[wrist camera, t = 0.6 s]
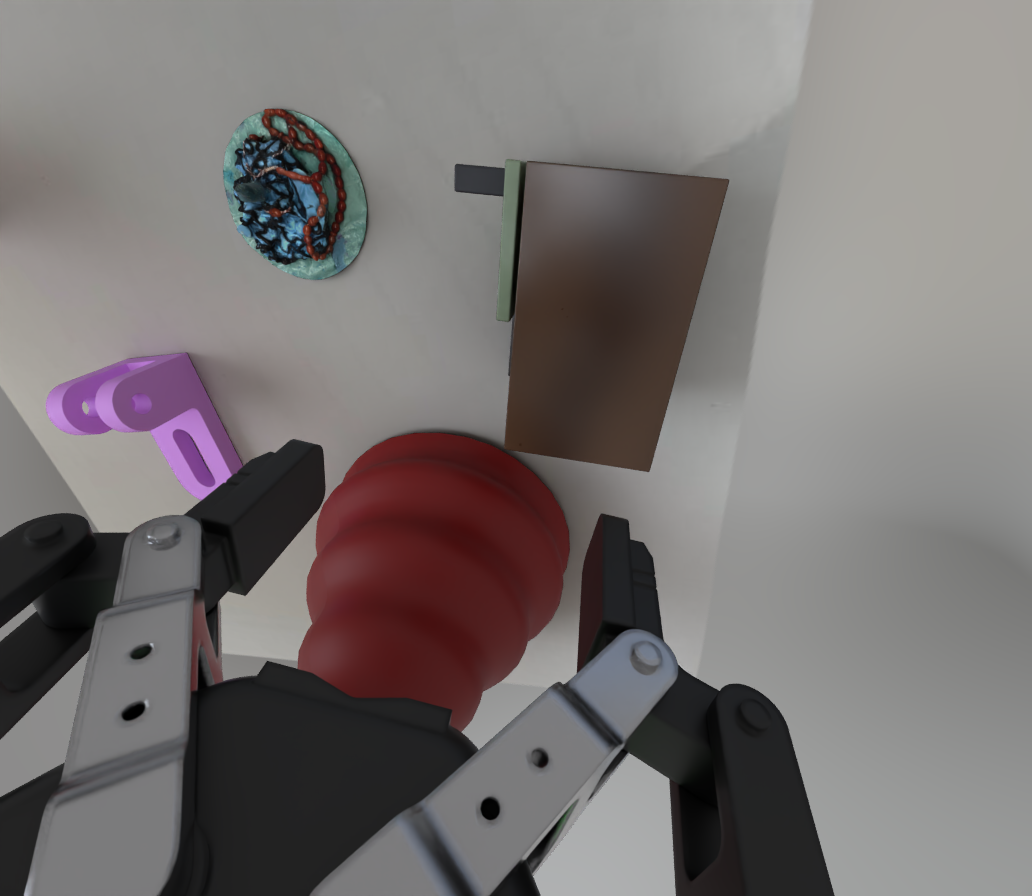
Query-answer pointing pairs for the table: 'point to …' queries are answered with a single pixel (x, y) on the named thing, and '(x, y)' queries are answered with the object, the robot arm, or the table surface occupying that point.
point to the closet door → (512, 189)
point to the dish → (295, 194)
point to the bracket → (152, 415)
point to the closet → (604, 307)
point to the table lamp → (432, 572)
